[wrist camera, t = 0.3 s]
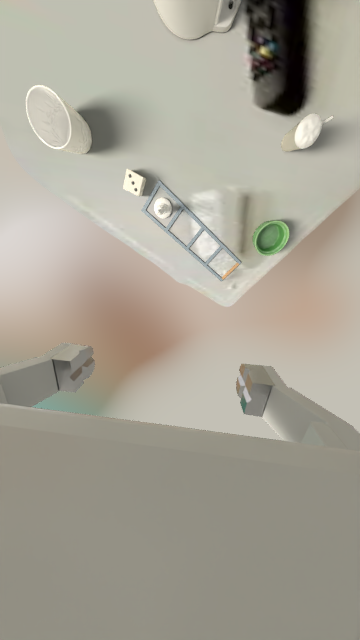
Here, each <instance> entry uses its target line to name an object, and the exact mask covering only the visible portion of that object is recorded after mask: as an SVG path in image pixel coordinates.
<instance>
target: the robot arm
mask: <svg viewBox="0 0 360 640" xmlns="http://www.w3.org/2000/svg"><path fill="white" fill-rule="evenodd" d="M154 3H155V5H156V8H157V10H158V13H159V15H160V17H161V18H162V20H163V22H164V23H165V25H166V26H167V27H168V29H169V30H170V31H171V32H172V33H174V34H175V35H176V36H178V37H180V38H183V39H188V40H191V39H196V38H199V37H201V36H203V35H205V34H207V33H208V32H211V31H215V32H227V31H228V30H229V29H230V27H231V26H232V23H233V21H234V18H235V16H236V13H237V10H238V8H239V5H240V3H241V0H154ZM230 3H231V4H232V5H233V8H232V9H229V7H228V5H229V4H230ZM92 355H93V348H92V347H91V346H86V345H78V344H71V343H61V344H60V345H58V346H57V347H55V348H54V349H52V350H50V351H49V352H47V353H46V354H44V355H42V356H41V357H39V358H37V357H35V358H32V359H28V360H25V361H21V362H18V363H14V364H11V365H7V366H3V367H0V640H360V434H359V433H358V431H356V430H355V428H354V427H353V426H352V425H350V424H348V423H347V422H345V421H344V420H342V419H340V418H339V417H337V416H336V415H334V414H332V413H331V412H329V411H328V410H326V409H324V408H322V407H321V406H320V405H318V404H316V403H315V402H313V401H311V400H310V399H308V398H306V397H305V396H303V395H302V394H300V393H298V392H297V391H295V390H294V389H292V388H288V387H287V386H286V384H285V383H284V382H283V380H282V379H281V378H280V376H279V375H278V374H277V372H276V371H275V369H274V368H273V367H271V366H262V365H250V364H241V366H240V369H239V371H240V373H241V375H240V376H239V377H238V378H237V382H236V385H237V386H236V389H237V394H238V396H239V397H240V398H241V402H240V403H241V406H242V409H243V412H244V414H248V415H254V416H261V417H262V418H263V419H264V420H265V421H266V422H267V423H268V425H269V426H270V427H271V428H272V429H273V430H274V431H275V432H276V433H277V434H278V435H279V436H280V437H281V439H283V441H281V440H273V439H266V438H258V437H250V436H243V435H236V434H228V433H221V432H213V431H206V430H199V429H191V428H184V427H176V426H169V425H162V424H154V423H147V422H139V421H131V420H124V419H115V418H109V417H101V416H94V415H86V414H79V413H71V412H64V411H56V410H49V409H42V408H34V407H32V406H34V405H36V404H37V403H39V402H41V401H43V400H44V399H46V398H48V397H50V396H52V395H53V394H55V393H57V392H58V391H66V392H76V391H77V390H78V389H79V388H80V387H81V386H82V384H83V383H84V381H83V380H84V379H86V378H89V377H90V375H91V374H92V372H93V370H94V365H95V363H94V359H93V358H92V357H91V356H92Z"/></svg>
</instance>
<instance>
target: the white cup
mask: <svg viewBox="0 0 360 640" xmlns="http://www.w3.org/2000/svg"><path fill="white" fill-rule="evenodd" d="M26 110H27V115H28V118H29V121H30V124H31V126H32V128H33V130H34V131H35V133H36V134H37V136H38V137H39V138H40V139H41V140H42V141H43V142H44V143H45V144H46V145H48V146H50V147H52V148H55V149H59V150H63V151H67V152H72V153H78V154H85V153H87V152H88V151H89V150H90V147H91V144H92V137H91V131H90V129H89V126H88V124H87V122H86V121H85V120H84V119H83V118H82V116H81V115H80V114H78V113H77V112H76V111H75V110H74V109H73V108H72V107H71V106H70V105H69V104H68V103H67V102H65V101H64V100H63V99H62V98H61V97H60V96H58V95H57V94H56V93H55V92H54V91H53V90H51V89H50V88H48V87H46V86H43V85H36V86H33V87H32V88H31V89H30V90H29V92H28V94H27V98H26Z"/></svg>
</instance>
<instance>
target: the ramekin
mask: <svg viewBox="0 0 360 640" xmlns="http://www.w3.org/2000/svg"><path fill="white" fill-rule="evenodd" d="M288 239H289V228H288V226H287V225H286V224H285V223H284V222H282V221H267V222H264V223H263V224H261V225H260V226H259V227H258V228H257V229H256V231H255V232H254V235H253V244H254V246H255V248H256V250H257V251H258V253H260V254H261V255H265V256H270V255H274V254H276V253H278V252H279V251H280V250H281V249H282V248H283V247H284V246H285V245H286V243H287V241H288Z"/></svg>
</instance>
